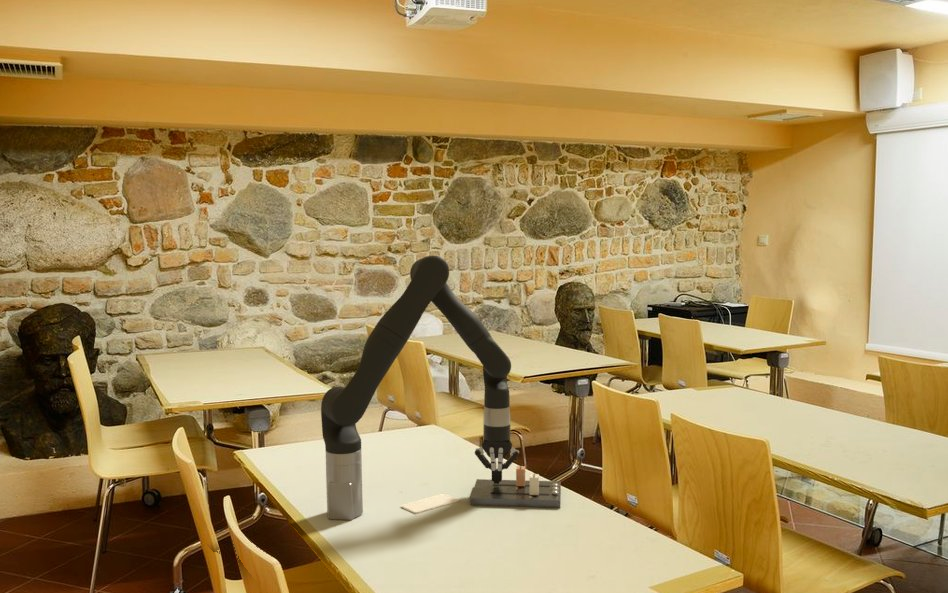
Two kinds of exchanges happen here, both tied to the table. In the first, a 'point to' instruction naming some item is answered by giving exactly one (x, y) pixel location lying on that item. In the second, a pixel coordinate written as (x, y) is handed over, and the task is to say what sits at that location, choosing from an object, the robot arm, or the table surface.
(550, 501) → the console
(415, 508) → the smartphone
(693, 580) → the table surface
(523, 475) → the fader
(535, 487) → the fader
